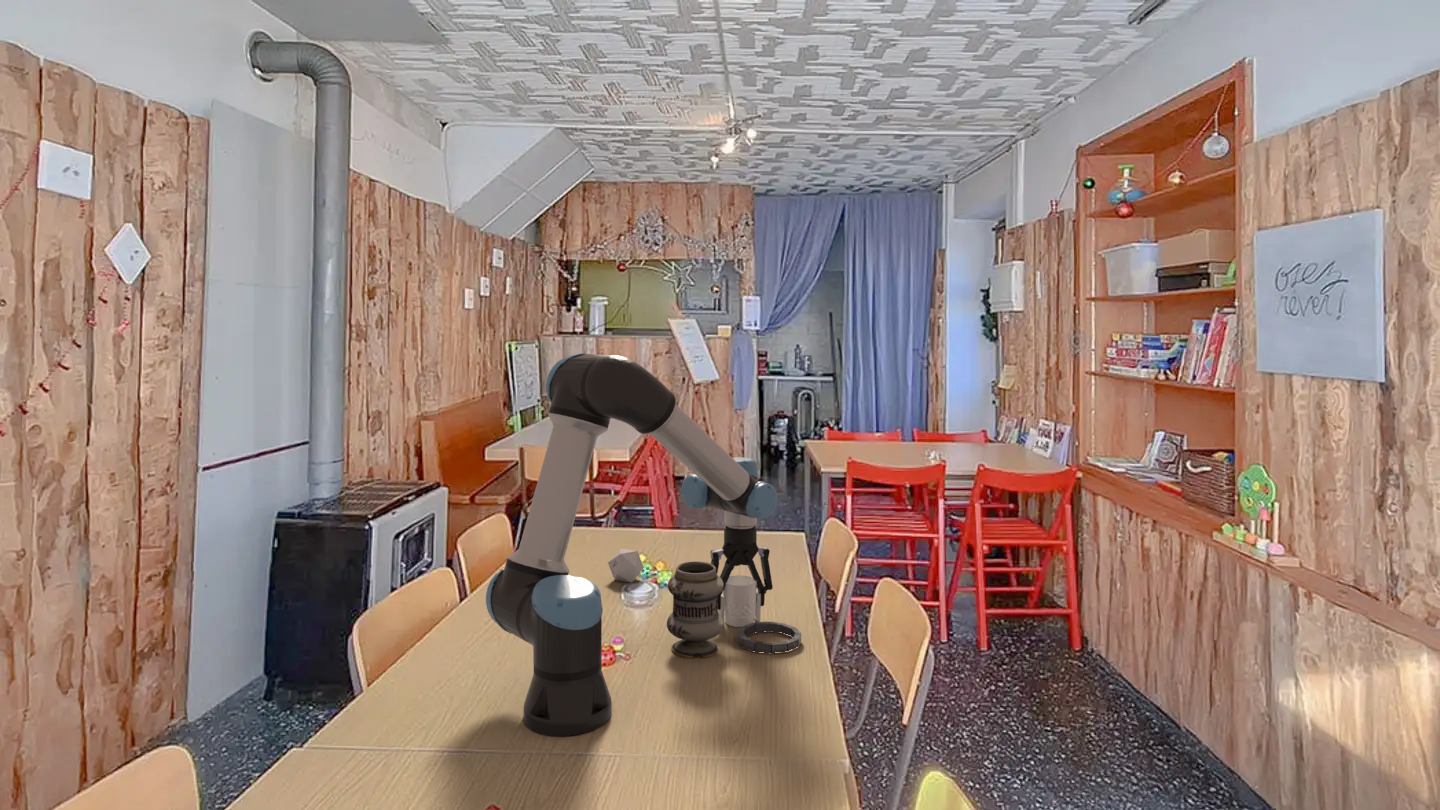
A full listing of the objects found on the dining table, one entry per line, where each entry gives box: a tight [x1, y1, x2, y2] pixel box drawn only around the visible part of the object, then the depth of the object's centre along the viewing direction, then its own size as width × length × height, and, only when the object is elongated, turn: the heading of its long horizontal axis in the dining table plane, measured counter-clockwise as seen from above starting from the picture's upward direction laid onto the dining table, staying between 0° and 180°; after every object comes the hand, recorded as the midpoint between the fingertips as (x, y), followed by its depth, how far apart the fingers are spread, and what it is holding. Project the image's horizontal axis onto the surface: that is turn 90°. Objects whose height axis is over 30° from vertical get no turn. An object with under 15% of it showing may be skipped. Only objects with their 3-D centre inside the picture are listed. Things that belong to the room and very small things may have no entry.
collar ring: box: [737, 621, 802, 654], centre depth 174 cm, size 13×13×2 cm
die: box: [607, 548, 645, 583], centre depth 217 cm, size 8×9×10 cm
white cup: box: [722, 574, 757, 628], centre depth 185 cm, size 8×8×10 cm
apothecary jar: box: [666, 560, 725, 659], centre depth 169 cm, size 12×12×18 cm
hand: (739, 620), depth 186 cm, fingers open, 8 cm apart
